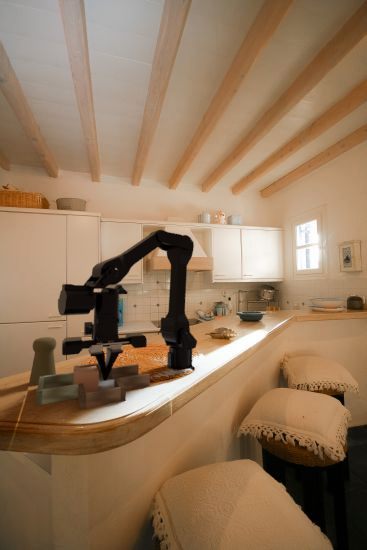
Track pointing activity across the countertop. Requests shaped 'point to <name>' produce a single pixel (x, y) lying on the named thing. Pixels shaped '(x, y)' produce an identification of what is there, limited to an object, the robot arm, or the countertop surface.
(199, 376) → the countertop surface
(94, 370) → the block
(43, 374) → the olive green pepper mill
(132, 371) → the trap lane
